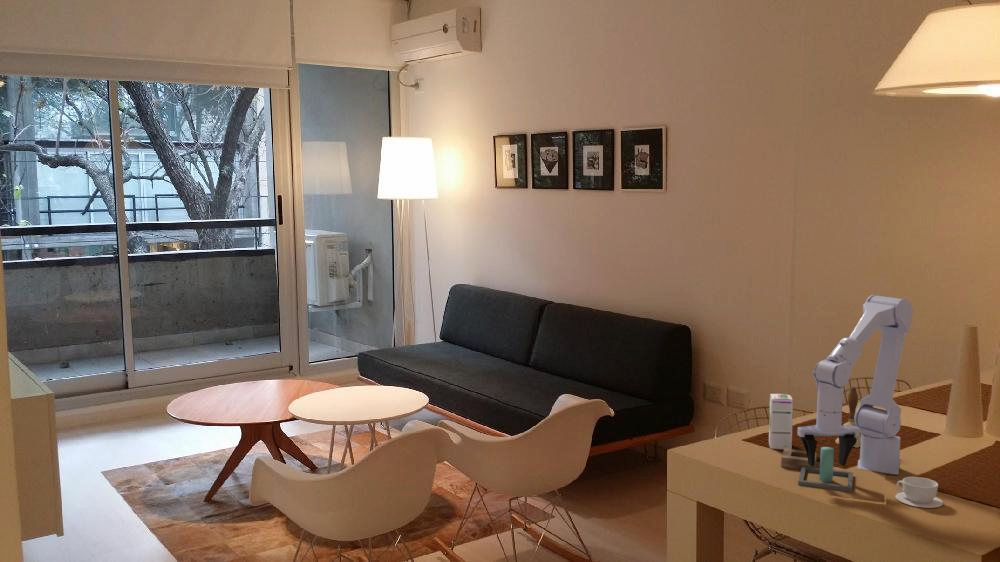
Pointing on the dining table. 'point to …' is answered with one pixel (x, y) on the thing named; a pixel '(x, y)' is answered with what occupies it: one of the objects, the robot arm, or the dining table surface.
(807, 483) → the tray
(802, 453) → the block
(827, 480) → the dowel
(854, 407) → the hand bell
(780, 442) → the syrup box
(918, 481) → the teacup
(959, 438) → the dining table surface
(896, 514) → the dining table surface
